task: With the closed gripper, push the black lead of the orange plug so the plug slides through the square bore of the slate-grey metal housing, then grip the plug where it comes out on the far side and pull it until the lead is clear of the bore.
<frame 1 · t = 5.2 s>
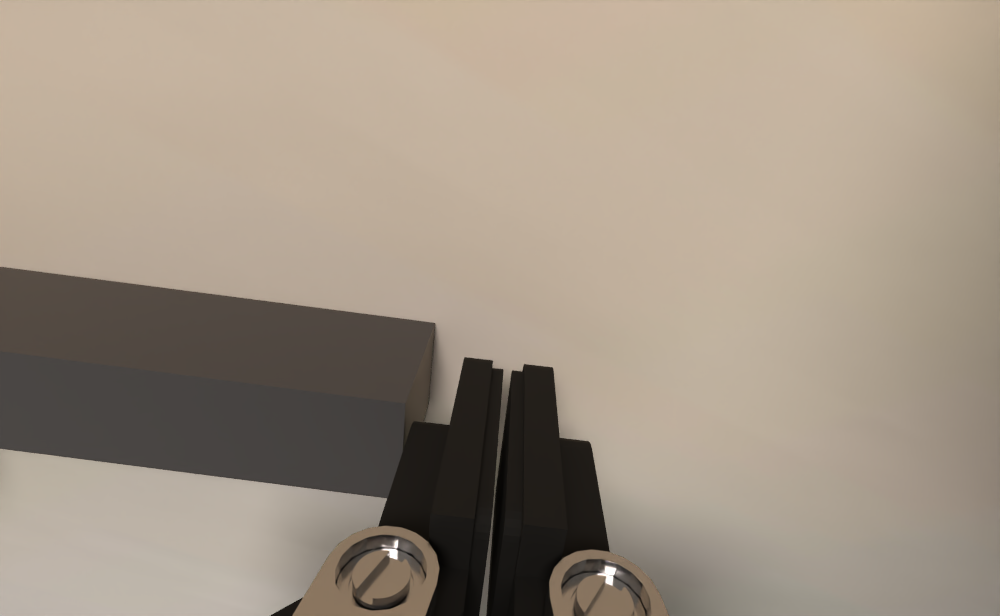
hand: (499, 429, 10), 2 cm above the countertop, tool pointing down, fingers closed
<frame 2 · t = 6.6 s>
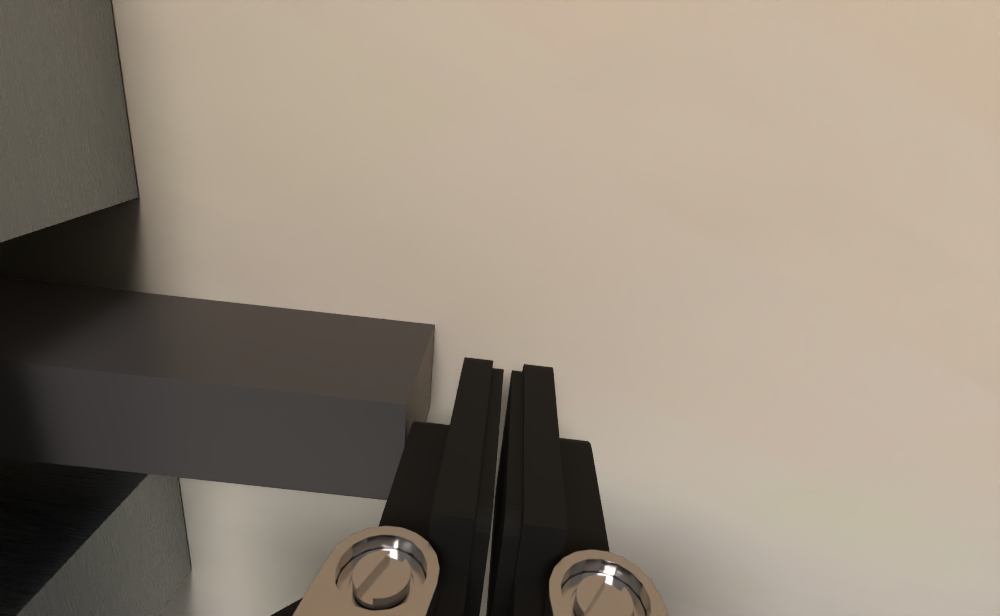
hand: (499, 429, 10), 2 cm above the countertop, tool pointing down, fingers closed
housing: (2, 250, 11), on the countertop
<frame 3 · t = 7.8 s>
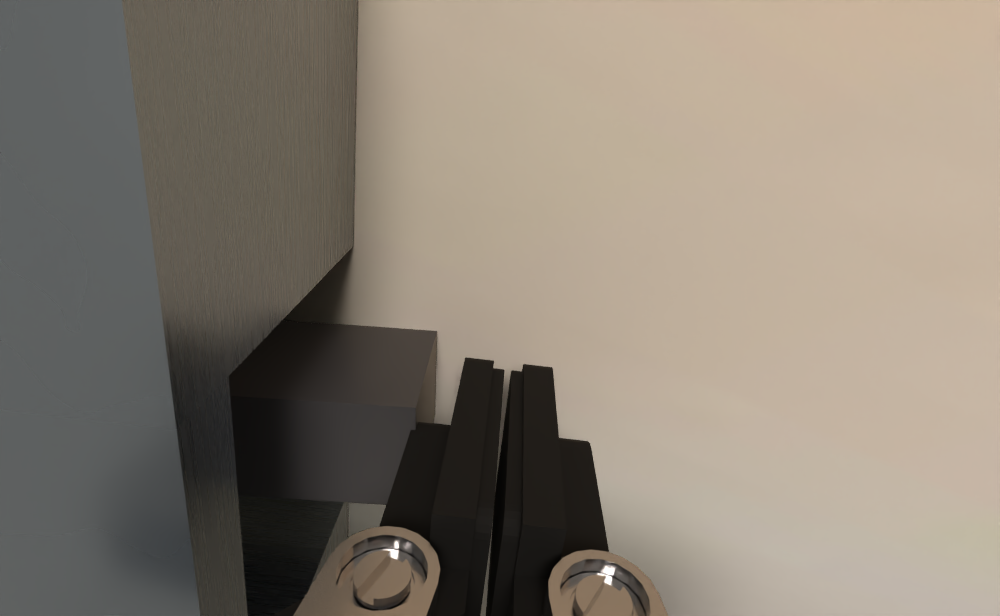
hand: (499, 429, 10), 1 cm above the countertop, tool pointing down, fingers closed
housing: (203, 299, 11), on the countertop
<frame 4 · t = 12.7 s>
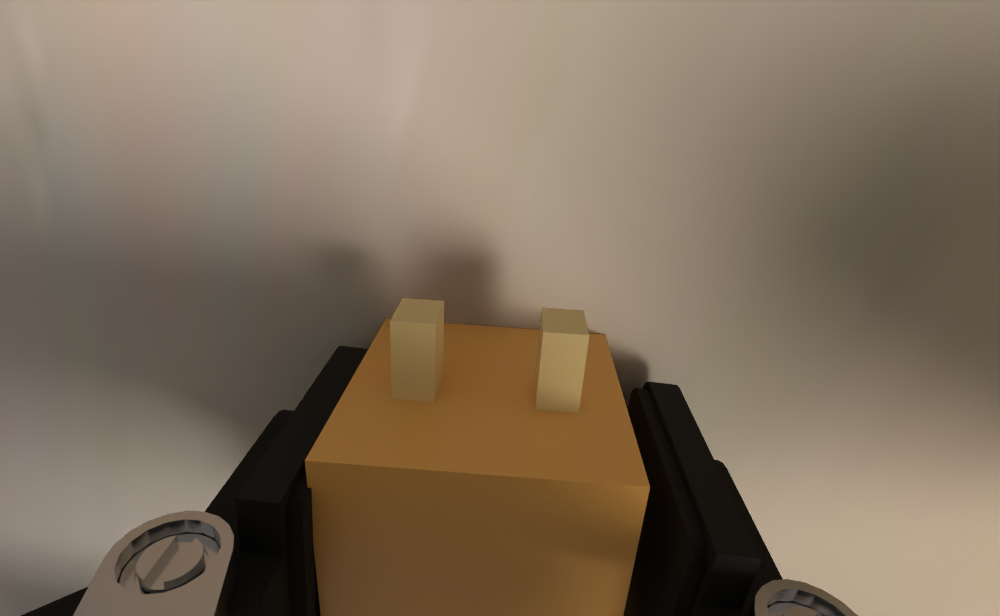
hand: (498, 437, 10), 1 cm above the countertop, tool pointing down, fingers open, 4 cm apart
plug: (489, 426, 11), on the countertop, touching gripper
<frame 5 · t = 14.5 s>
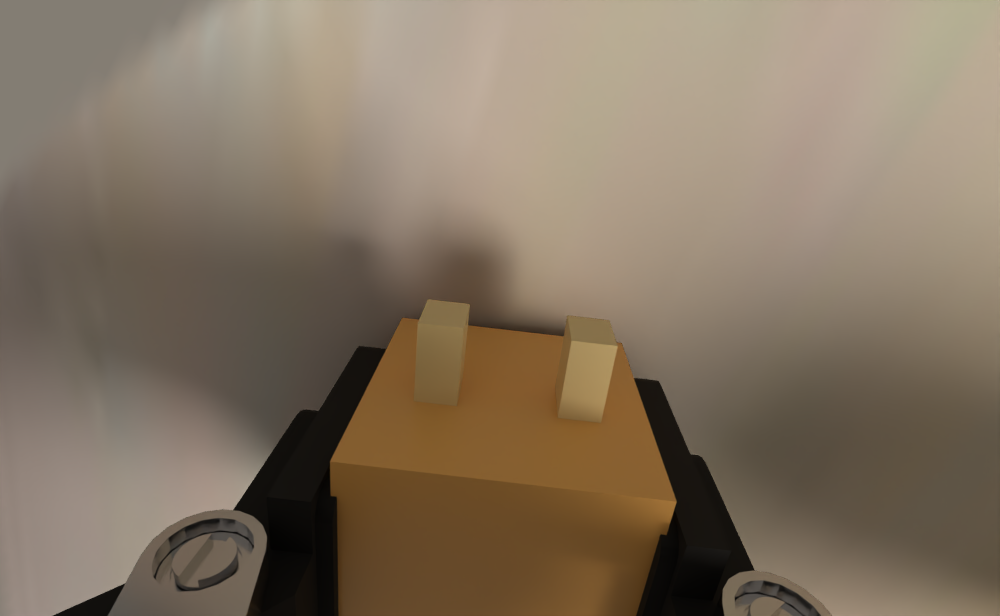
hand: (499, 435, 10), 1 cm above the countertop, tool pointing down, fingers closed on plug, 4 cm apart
plug: (499, 430, 11), on the countertop, touching gripper
when the fingers open (1 cm above the countertop, at t = 15.8 s): plug stays where it is, on the countertop.
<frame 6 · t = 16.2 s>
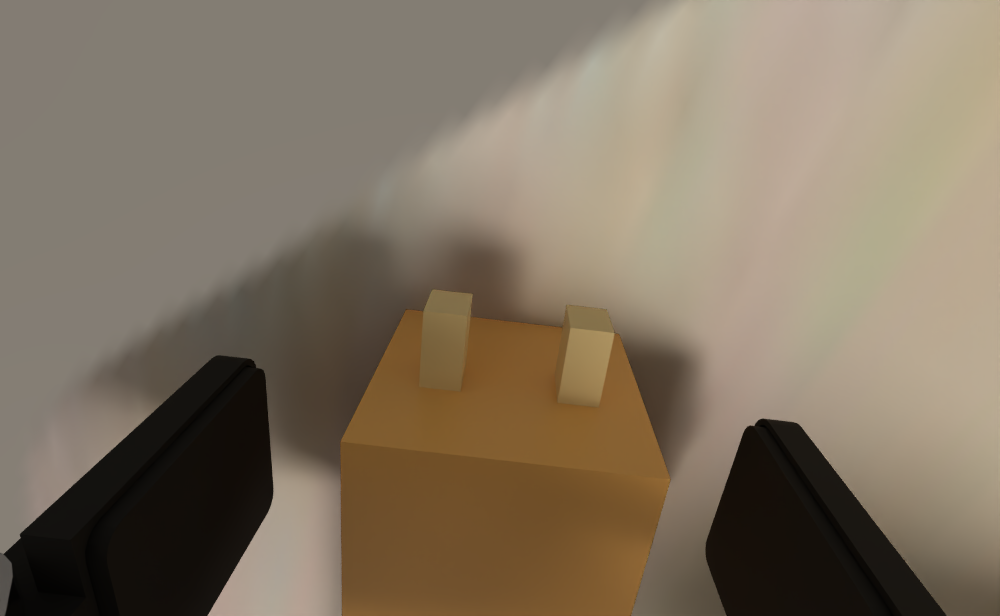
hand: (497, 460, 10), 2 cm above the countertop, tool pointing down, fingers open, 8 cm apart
plug: (500, 419, 11), on the countertop
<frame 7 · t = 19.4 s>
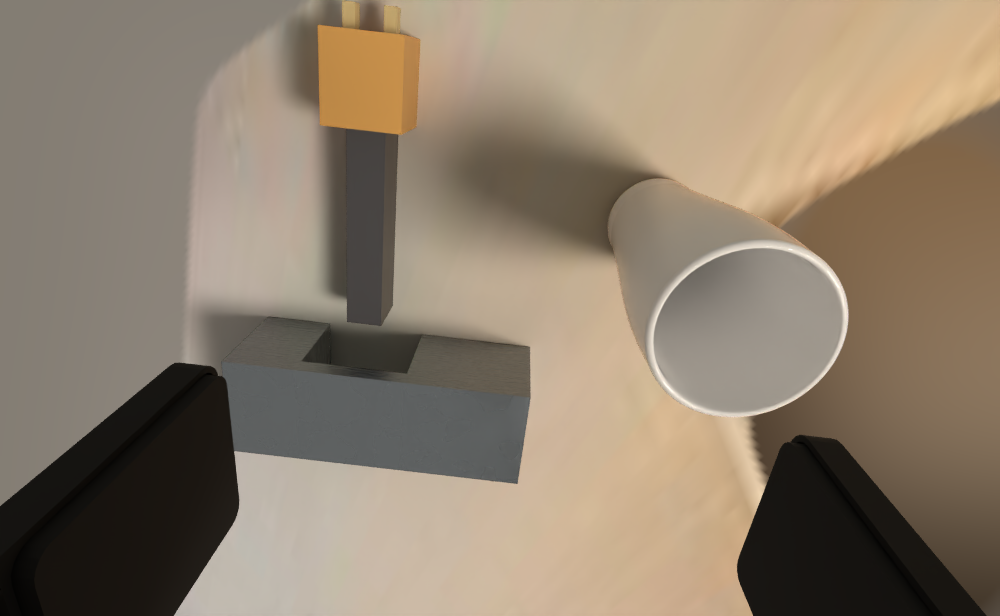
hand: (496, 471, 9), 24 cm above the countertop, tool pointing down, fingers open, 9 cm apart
plug: (381, 80, 30), on the countertop
housing: (397, 372, 37), on the countertop
drinking glass: (651, 221, 32), on the countertop
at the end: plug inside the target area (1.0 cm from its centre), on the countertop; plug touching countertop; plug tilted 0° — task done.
